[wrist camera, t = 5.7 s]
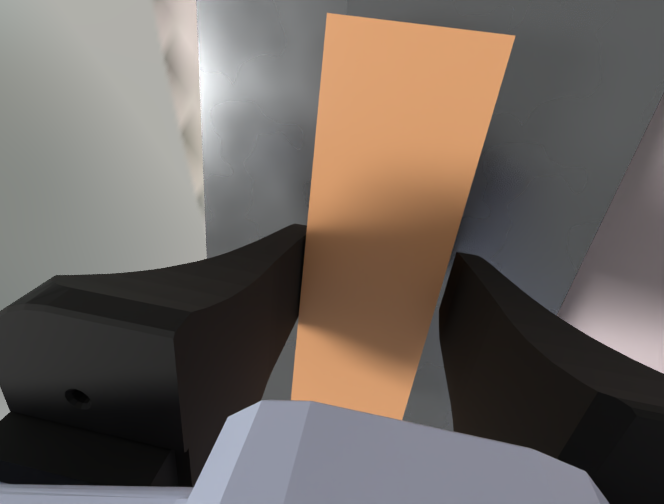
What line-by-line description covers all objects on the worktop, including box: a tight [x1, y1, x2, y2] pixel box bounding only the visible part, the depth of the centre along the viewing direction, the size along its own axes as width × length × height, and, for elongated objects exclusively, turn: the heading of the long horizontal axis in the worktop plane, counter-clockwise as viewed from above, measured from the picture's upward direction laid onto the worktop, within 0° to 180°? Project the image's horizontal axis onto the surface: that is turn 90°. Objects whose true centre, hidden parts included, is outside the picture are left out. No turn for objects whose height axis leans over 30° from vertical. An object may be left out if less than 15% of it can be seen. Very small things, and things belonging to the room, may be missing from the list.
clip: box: [291, 13, 515, 420], centre depth 12 cm, size 12×4×5 cm, turn 173°
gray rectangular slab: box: [196, 0, 664, 431], centre depth 13 cm, size 20×12×2 cm, turn 173°
